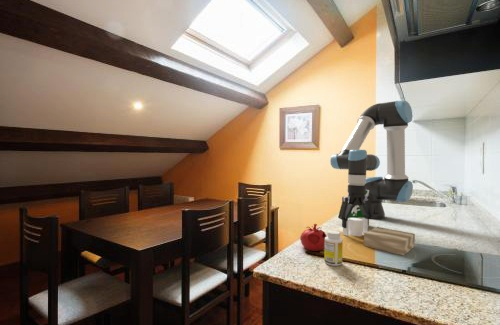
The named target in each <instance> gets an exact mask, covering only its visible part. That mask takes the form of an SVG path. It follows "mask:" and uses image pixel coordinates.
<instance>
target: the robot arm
mask: <svg viewBox="0 0 500 325" xmlns="http://www.w3.org/2000/svg"><path fill="white" fill-rule="evenodd" d="M412 120H413V110H412V106H411V105H410V103H409V101H407V100H396V101H388V102H382V103H381V102H380V103H375V104H373V105H371V106H370V107H368V108H367V109H365V110H364V111H363V112H362V113H361V114H360V115H359V117H358V119H357V121H356V122H357V124H356V125H355V127H354V128H353V130H352V132H351V134H350V135H349V137H348V139H347V140H346V142H345V143H344V145H343V147H342V149H341V150H340V151H339V152H338V153H335V154H332V155H331V157H330V160H329V161H330V162H329V163H330V166H331V167H332V168H333V169H336V170H348V174H347V178H348V179H347V183H348V185H347V189H348V193H349V195H348V193H347V196H341V197H342V198H341V201H342V202H341V206H340V209H339V212H338V215H337V216H338V219H339V220H341V227H342V235H344V236H346V237H349V221H347V220H348V218H349V215H350V213H351V211H352V209H353V208H354V207H355V206H357V205H358V206H359V207H360V209H361V211H362V214H363V216H364V218H363V219H364V225H363V233H362V234H364V233H366V232H368V231H369V226H370V220H374V219H375V220H381V219H382V218H383V219H385V217H386V213H385V210H384V207H383V201H388V202H390V201H391V202H396V203H407V202H408V201H409V200H410V199H411V196H412V194H413V188H414V184H413V182H412V181H411V180H409V176H408V175H407V174H406V139H405V138H406V136H405V135H406V134H405V133H406V132H405V131H406V129H407V128H408V126H409V124H410V123H411V122H412ZM379 125H383V128H384V130H385V131H386V175H385V176H372V177H369V176H368V177H367V171H370V172H372V171H375V170H377V169H378V168H379V166H380V164H381V161H380V158H379V157H378V156H377V155H375V154H371V153H370V154H369V153H368V151H367V150H366V149H361V147H362V146H363V143H364V142H365V140H366V138H367V137H368V135H369V133H370V132H371V130H373V129H374V128H376V127H375V126H379ZM366 190H369V194H368V196H365V195H364V194H365V193H366ZM348 201H349V202H348ZM351 204H352V205H351ZM383 219H382V220H383Z"/></svg>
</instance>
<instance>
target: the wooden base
mask: <svg viewBox="0 0 500 325" xmlns="http://www.w3.org/2000/svg"><path fill="white" fill-rule="evenodd" d="M363 234H364V236H363V246H364V247H367V248H371V249H376V250H379V251H383V252H388V253H392V254H397V255H401V256H405V255H406V254H407V253H409V252H410V251H411V250H412V249H413V248H415V243H416V240H415V239H416V238H415V237H416V233H413V232H408V231H402V230H396V229H392V228H385V227H380V226H377V227H374V228H372V229H370V230H368V232H366V233H363Z"/></svg>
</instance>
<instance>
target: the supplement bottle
mask: <svg viewBox="0 0 500 325" xmlns="http://www.w3.org/2000/svg"><path fill="white" fill-rule="evenodd" d="M326 236H327V237H325V249H324V257H323V258H324V260H323V261H324V263H325V264H326V265H327V266H331V267H338V266H341V265H342V264H343V244H344V243H343V240H344V239H342V237H341V231H338V230H330V229H329V230H327V233H326Z"/></svg>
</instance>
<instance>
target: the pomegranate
mask: <svg viewBox="0 0 500 325" xmlns="http://www.w3.org/2000/svg"><path fill="white" fill-rule="evenodd" d="M317 225H318V224H317V223H313V225H312V226H311V227H310V226H306V227H305V229H304V230H303V231H302V232H301V235H300V237H299V241H300V242H301V245H302V247H304V248H305V249H306V250H308V251H311V252H319V251H323V250H325V237H327V233H326V232H325V231H323V230H322V229H321V227H317Z"/></svg>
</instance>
